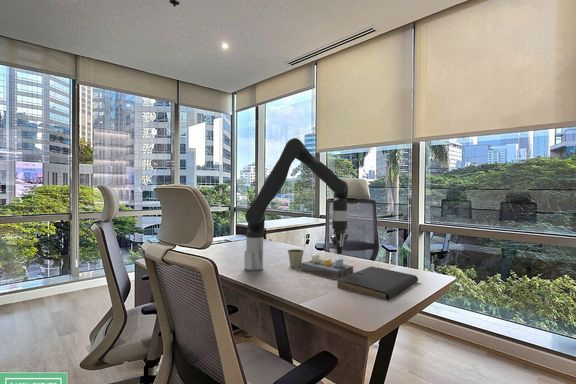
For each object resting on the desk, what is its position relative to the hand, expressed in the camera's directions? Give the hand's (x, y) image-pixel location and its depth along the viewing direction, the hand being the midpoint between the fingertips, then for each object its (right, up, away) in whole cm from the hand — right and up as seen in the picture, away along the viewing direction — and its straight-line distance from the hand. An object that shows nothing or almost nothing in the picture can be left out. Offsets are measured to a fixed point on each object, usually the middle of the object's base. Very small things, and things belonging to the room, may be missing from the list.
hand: (339, 253), depth 152 cm
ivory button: (-11, -8, +10) cm, 17 cm away
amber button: (-6, -9, +5) cm, 12 cm away
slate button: (0, -8, 0) cm, 8 cm away
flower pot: (-22, -11, +17) cm, 30 cm away
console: (-6, -11, +5) cm, 13 cm away
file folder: (+15, -12, -14) cm, 24 cm away
